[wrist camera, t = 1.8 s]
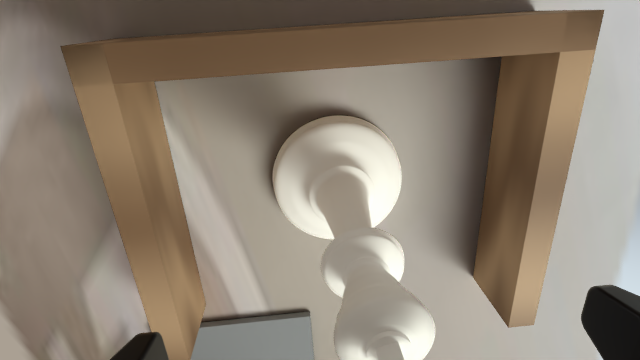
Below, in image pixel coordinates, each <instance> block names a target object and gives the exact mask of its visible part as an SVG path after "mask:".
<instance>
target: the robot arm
mask: <svg viewBox="0 0 640 360" xmlns="http://www.w3.org/2000/svg"><path fill="white" fill-rule="evenodd" d="M581 321H582V324H583V327H584V329H585V330H586V332H587V334H588V335H589V337H590V339H591V340H592V342H593V343H594V345H595V347H596V348H597V350H598V351H599V353H600V355H601V356H602V358H603V360H640V296H638V295H635V294H633V293H631V292H628V291H626V290H624V289H621V288H619V287H616V286H614V285H602V286H594V287H591V288H590V289H589V291H588V293H587V297H586V300H585V304H584V307H583V311H582V314H581ZM110 360H169V358H168V355H167V351H166V348H165V345H164V342H163V338H162V336H161V334H160V333H159V332H148V333H140V334H138V335H136V336H135V337H134V338H132V339H131V340H130V341H129V342H128V343H127V344H126V345H125V346H124V347H123V348H122V349H121V350H120V351H118V352H117V353H116V354H115V355H114V356H113V357H112V358H111V359H110Z"/></svg>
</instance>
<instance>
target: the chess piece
mask: <svg viewBox="0 0 640 360" xmlns="http://www.w3.org/2000/svg"><path fill="white" fill-rule="evenodd" d="M401 183H402V172H401V166H400V162H399V159H398V156H397V153H396V150H395V148H394V146H393V144H392V143H391V141H390V140H389V138H388V137H387V136H386V135H385V134H384V133H383V132H382V131H381V130H380V129H379V128H377V127H376V126H374V125H373V124H371V123H369V122H367V121H365V120H362V119H359V118H356V117H351V116H342V115H337V116H327V117H323V118H319V119H316V120H313V121H311V122H309V123H307V124H305V125H303V126H302V127H300V128H299V129H297V130H296V131H295V132H294V133H293V134H292V135H291V136H290V137H289V138H288V139H287V140H286V141H285V143H284V144H283V145H282V147H281V149H280V150H279V152H278V154H277V157H276V160H275V163H274V167H273V187H274V192H275V195H276V199H277V202H278V204H279V207H280V209H281V210H282V212H283V214H284V215H285V216H286V218H287V219H288V220H289V221H290V222H291V223H292V224H293V225H295V226H296V227H297V228H299V229H300V230H302V231H303V232H305V233H307V234H310V235H312V236H315V237H319V238H324V239H334V240H333V241H332V242H331V243H330V244H329V245H328V246H327V248H326V249H325V251H324V253H323V256H322V260H321V273H322V276H323V278H324V280H325V282H326V283H327V285H328V286H329V288H330V289H331V290H332V291H333V292H334V293H335V294H336V295H338V296H340V297H342V298H343V300H342V305H341V309H340V311H339V313H338V316H337V320H336V325H335V330H334V346H335V350H336V353H337V355H338V357H339V358H340V360H422V359H423V358H424V357H425V356H426V355H427V354H428V352H429V351H430V349H431V347H432V345H433V342H434V339H435V324H434V320H433V318H432V316H431V314H430V312H429V311H428V309H427V308H426V307H425V306H424V305H423V304H422V303H421V301H419V300H418V299H417V298H416V297H415V296H414V295H413V294H412V293H410V292H409V291H407V290H406V289H405V288H404V287H403V286H401V284H400V283H399V281H400V279H401V277H402V274H403V271H404V253H403V249H402V247H401V245H400V243H399V242H398V241H397V240H396V238H394V237H393V236H392V235H391V234H389V233H387V232H386V231H383V230H380V229H377V228H374V227H375V226H376V225H378V224H379V223H380V222H381V221H382V220H383V219H384V218H385V217H386V216H387V215H388V214H389V213H390V211H391V210H392V208H393V207H394V205H395V203H396V201H397V199H398V196H399V193H400V189H401Z"/></svg>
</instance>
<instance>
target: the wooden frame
mask: <svg viewBox="0 0 640 360" xmlns="http://www.w3.org/2000/svg"><path fill="white" fill-rule="evenodd" d="M603 14H604V10H562V11H527V12H512V13H497V14H482V15H467V16H451V17H436V18H421V19H406V20H391V21H376V22H361V23H346V24H331V25H316V26H301V27H286V28H270V29H255V30H240V31H225V32H210V33H195V34H180V35H165V36H150V37H135V38H120V39H108V40H101V41H94V42H87V43H80V44H73V45H65V46H61V50H62V53H63V56H64V59H65V62H66V65H67V68H68V72H69V75H70V78H71V81H72V84H73V87H74V90H75V93H76V97H77V100H78V103H79V106H80V109H81V112H82V115H83V119H84V122H85V125H86V128H87V131H88V134H89V137H90V141H91V144H92V147H93V150H94V153H95V156H96V159H97V162H98V166H99V169H100V172H101V175H102V178H103V181H104V184H105V188H106V191H107V194H108V197H109V200H110V203H111V206H112V210H113V213H114V216H115V219H116V222H117V225H118V228H119V231H120V235H121V238H122V241H123V244H124V247H125V250H126V253H127V257H128V260H129V263H130V266H131V269H132V272H133V275H134V279H135V282H136V285H137V288H138V291H139V294H140V297H141V300H142V304H143V307H144V310H145V313H146V316H147V319H148V322H149V326H150V329H151V332H159V333H160V334H161V336H162V338H163V342H164V345H165V348H166V351H167V355H168V358H169V360H190V359H191V356H192V352H193V349H194V345H195V342H196V338H197V334H198V331H199V327H200V324H201V320H202V317H203V313H204V310H205V306H206V303H205V298H204V294H203V290H202V285H201V281H200V277H199V272H198V268H197V264H196V260H195V255H194V251H193V247H192V242H191V238H190V234H189V229H188V225H187V221H186V216H185V212H184V208H183V204H182V199H181V195H180V191H179V186H178V182H177V178H176V173H175V169H174V165H173V160H172V156H171V152H170V148H169V143H168V139H167V135H166V130H165V126H164V122H163V117H162V113H161V109H160V104H159V100H158V96H157V92H156V87H155V83H154V81H167V80H181V79H194V78H208V77H222V76H236V75H250V74H264V73H278V72H292V71H306V70H319V69H333V68H347V67H361V66H375V65H389V64H403V63H417V62H431V61H445V60H458V59H472V58H486V57H500V56H502V58H501V66H500V74H499V82H498V89H497V97H496V105H495V113H494V120H493V128H492V136H491V143H490V151H489V159H488V167H487V174H486V182H485V190H484V197H483V205H482V213H481V221H480V228H479V236H478V244H477V251H476V259H475V267H474V275H473V278H474V280H475V281H476V282H477V284H478V285H479V287H480V288H481V289H482V291H483V292H484V294H485V295H486V296H487V298H488V299H489V301H490V302H491V304H492V305H493V306H494V308H495V309H496V311H497V312H498V313H499V315H500V316H501V318H502V319H503V321H504V322H505V323H506V325H507V326H508V328H509V327H518V326H527V325H534V322H535V317H536V313H537V308H538V304H539V299H540V295H541V291H542V286H543V282H544V277H545V273H546V268H547V264H548V259H549V255H550V250H551V246H552V241H553V237H554V232H555V228H556V224H557V219H558V215H559V210H560V206H561V201H562V197H563V192H564V188H565V183H566V179H567V174H568V170H569V165H570V161H571V157H572V152H573V148H574V143H575V139H576V134H577V130H578V125H579V121H580V116H581V112H582V107H583V103H584V99H585V94H586V90H587V85H588V81H589V76H590V72H591V67H592V63H593V58H594V54H595V49H596V45H597V40H598V36H599V32H600V27H601V23H602V18H603Z"/></svg>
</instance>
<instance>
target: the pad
mask: <svg viewBox="0 0 640 360" xmlns="http://www.w3.org/2000/svg"><path fill="white" fill-rule="evenodd" d="M190 360H314V352H313V341H312V330H311V319H310V312H300V313H291V314H281V315H271V316H262V317H252V318H242V319H232V320H223V321H213V322H203V323H201V324H200V327H199V331H198V334H197V338H196V342H195V345H194V349H193V352H192V356H191V359H190Z"/></svg>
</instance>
